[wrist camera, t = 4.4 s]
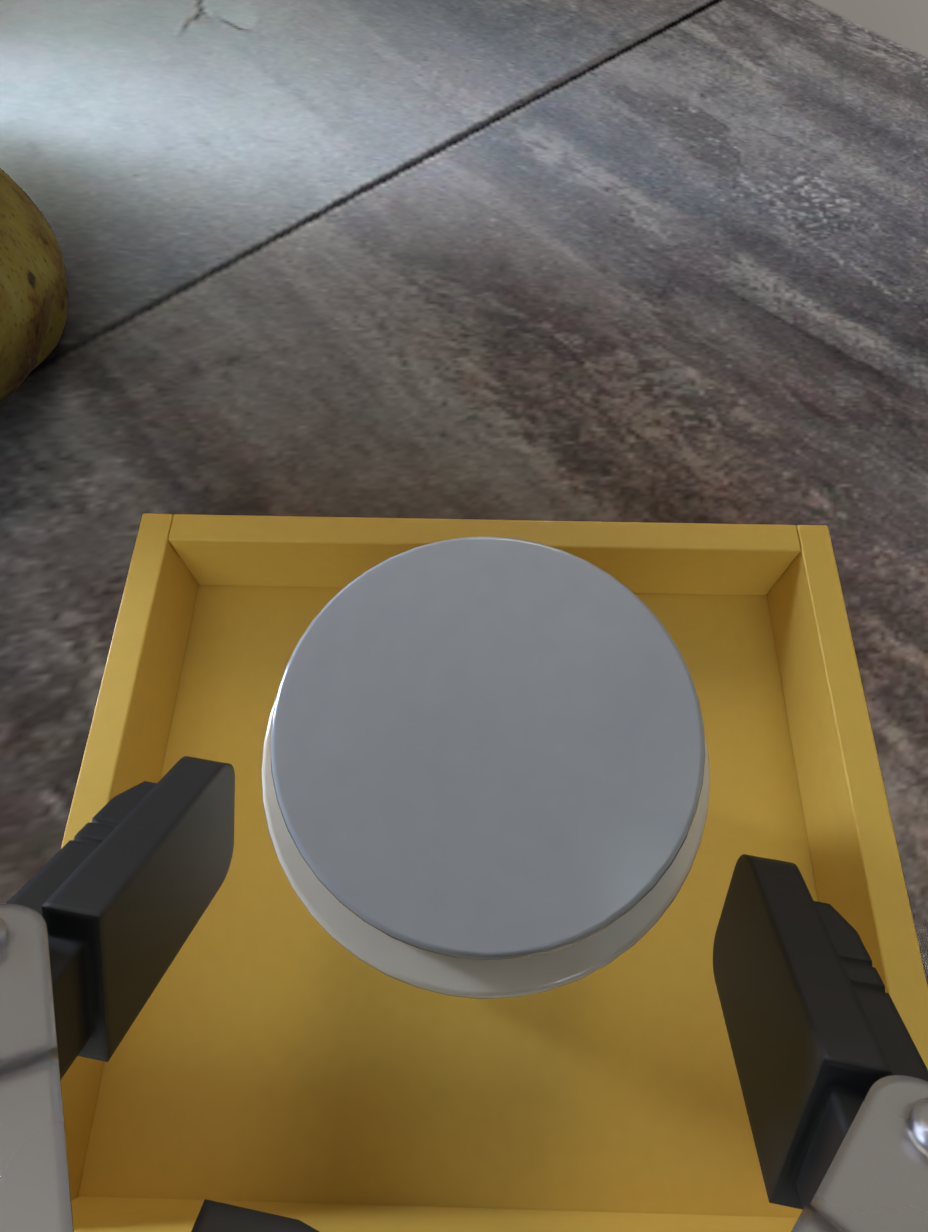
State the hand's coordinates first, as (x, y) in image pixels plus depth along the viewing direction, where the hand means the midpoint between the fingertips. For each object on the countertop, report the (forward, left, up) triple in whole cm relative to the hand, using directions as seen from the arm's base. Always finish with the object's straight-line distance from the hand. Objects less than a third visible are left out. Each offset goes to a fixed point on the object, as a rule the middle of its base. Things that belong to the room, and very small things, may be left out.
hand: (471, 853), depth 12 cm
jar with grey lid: (0, -1, -6) cm, 7 cm away
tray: (0, -1, -7) cm, 7 cm away
